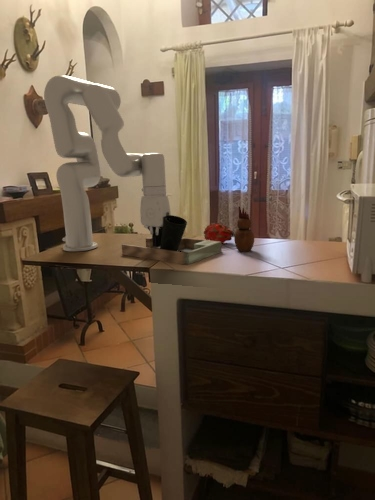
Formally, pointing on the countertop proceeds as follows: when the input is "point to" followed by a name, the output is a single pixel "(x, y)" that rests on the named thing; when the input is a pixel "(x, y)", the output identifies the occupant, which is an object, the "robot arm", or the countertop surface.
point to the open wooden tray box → (193, 247)
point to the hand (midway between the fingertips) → (157, 245)
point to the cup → (172, 232)
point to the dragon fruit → (218, 233)
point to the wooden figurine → (244, 233)
